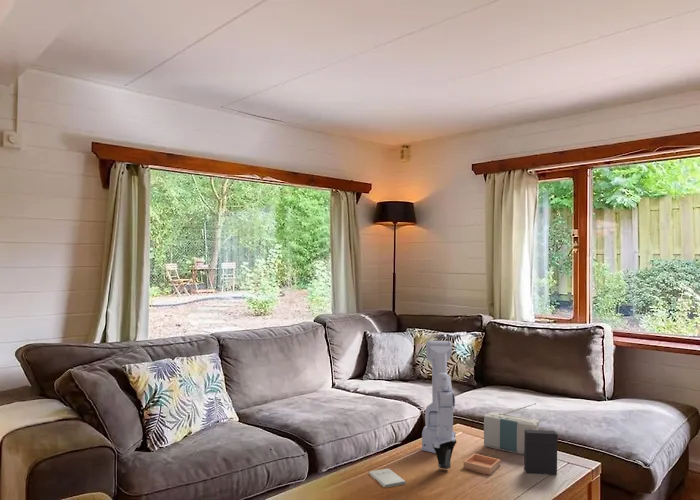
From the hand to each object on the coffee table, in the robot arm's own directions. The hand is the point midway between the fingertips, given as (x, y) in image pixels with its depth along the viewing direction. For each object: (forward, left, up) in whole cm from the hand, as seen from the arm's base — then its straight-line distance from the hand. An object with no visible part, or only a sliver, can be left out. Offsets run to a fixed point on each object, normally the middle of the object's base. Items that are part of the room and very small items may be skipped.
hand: (444, 461), depth 200 cm
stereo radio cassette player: (+13, +35, -3) cm, 38 cm away
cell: (0, 0, -2) cm, 2 cm away
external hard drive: (-13, -19, -4) cm, 23 cm away
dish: (+10, +11, -3) cm, 15 cm away
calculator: (+29, +19, -3) cm, 35 cm away
